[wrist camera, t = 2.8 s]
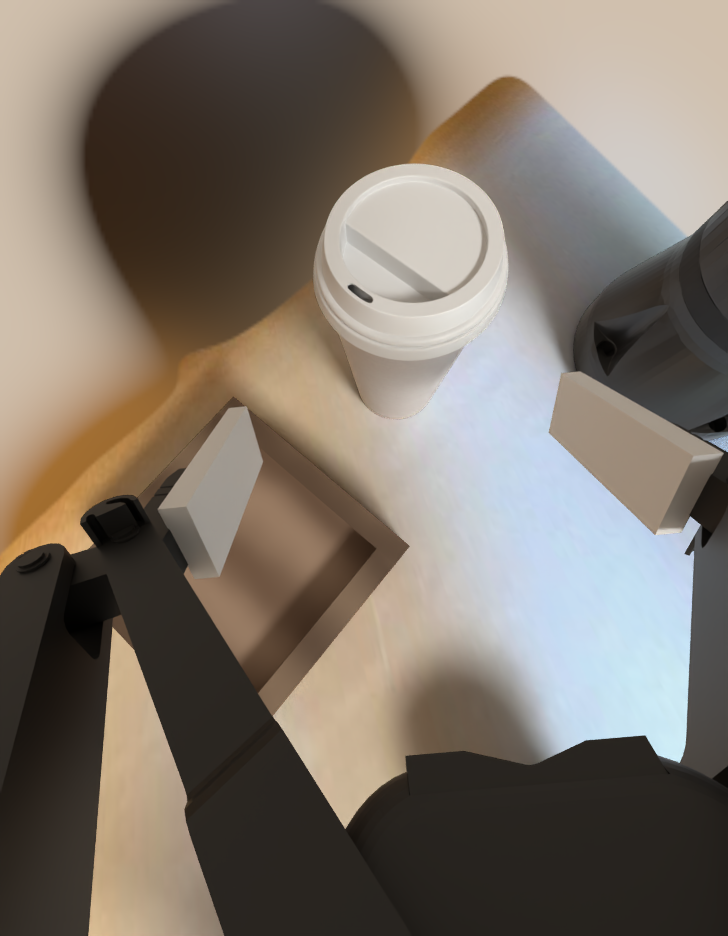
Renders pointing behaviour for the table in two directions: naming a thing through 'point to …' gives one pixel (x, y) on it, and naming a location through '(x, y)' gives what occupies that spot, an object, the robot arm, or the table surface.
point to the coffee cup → (409, 279)
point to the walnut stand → (287, 564)
